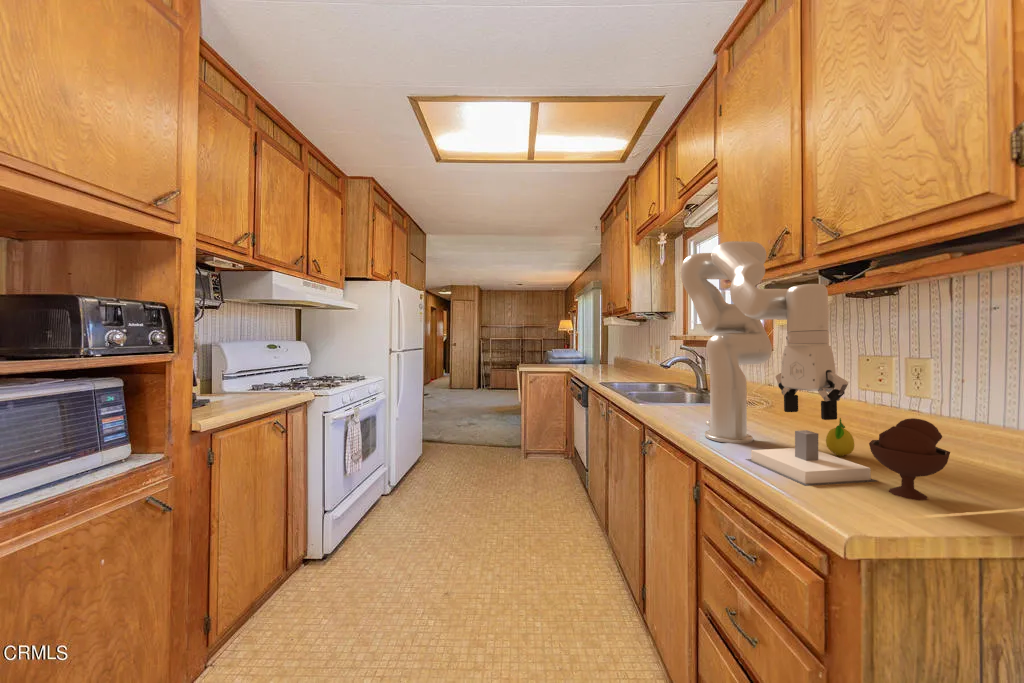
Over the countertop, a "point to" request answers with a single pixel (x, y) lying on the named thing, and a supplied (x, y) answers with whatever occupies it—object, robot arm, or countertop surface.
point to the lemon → (840, 440)
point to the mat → (813, 483)
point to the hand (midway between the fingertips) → (809, 415)
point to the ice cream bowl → (910, 454)
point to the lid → (810, 462)
